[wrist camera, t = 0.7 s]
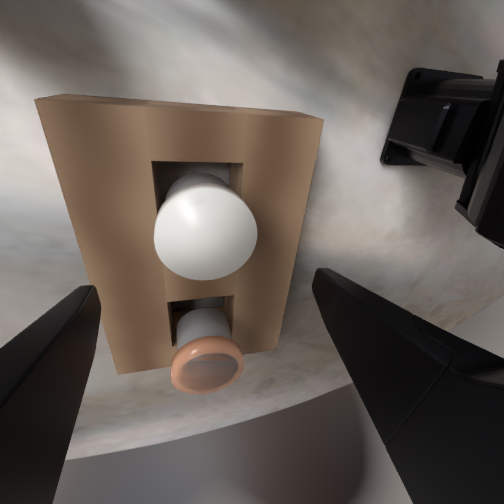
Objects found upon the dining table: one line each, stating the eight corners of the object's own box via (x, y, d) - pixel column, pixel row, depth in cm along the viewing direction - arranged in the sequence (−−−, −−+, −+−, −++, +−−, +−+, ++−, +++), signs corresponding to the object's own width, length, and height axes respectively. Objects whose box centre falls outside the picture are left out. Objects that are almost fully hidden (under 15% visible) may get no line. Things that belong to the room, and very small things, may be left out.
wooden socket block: (297, 111, 18) (324, 119, 15) (264, 318, 29) (276, 349, 26) (64, 93, 15) (34, 99, 12) (124, 336, 25) (118, 374, 22)
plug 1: (242, 165, 15) (262, 190, 12) (237, 239, 18) (252, 276, 14) (153, 164, 14) (147, 191, 11) (161, 243, 16) (159, 284, 13)
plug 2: (234, 300, 20) (246, 343, 17) (231, 342, 23) (241, 386, 20) (168, 307, 19) (168, 355, 16) (173, 351, 22) (173, 399, 18)
